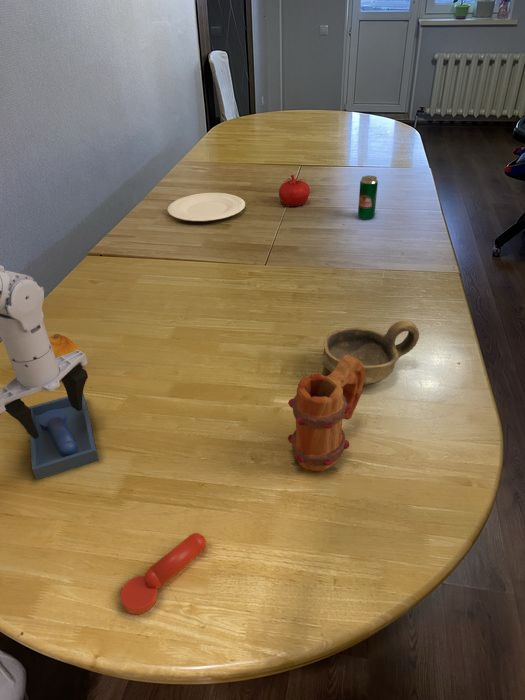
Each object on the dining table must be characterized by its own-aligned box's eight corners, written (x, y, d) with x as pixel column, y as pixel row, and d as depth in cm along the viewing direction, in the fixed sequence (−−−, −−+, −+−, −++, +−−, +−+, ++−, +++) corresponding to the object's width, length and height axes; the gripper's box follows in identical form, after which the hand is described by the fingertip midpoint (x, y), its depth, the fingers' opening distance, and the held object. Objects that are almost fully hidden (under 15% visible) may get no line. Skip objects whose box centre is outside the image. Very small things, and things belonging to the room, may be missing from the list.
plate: (233, 228, 154) (233, 222, 153) (155, 223, 159) (154, 217, 158) (254, 199, 174) (253, 194, 173) (184, 196, 179) (183, 190, 178)
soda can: (354, 218, 157) (357, 178, 150) (362, 213, 160) (365, 174, 153) (369, 221, 154) (373, 181, 147) (377, 216, 158) (381, 176, 151)
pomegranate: (312, 207, 166) (312, 178, 160) (281, 210, 165) (281, 180, 159) (306, 197, 174) (306, 169, 168) (276, 199, 173) (276, 171, 167)
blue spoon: (85, 452, 81) (81, 440, 80) (59, 464, 79) (54, 452, 78) (62, 410, 89) (58, 399, 88) (37, 420, 88) (33, 409, 86)
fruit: (97, 354, 100) (68, 322, 96) (70, 382, 94) (39, 349, 91) (74, 363, 105) (46, 333, 101) (47, 390, 99) (17, 359, 96)
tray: (98, 460, 80) (95, 450, 79) (36, 479, 78) (32, 469, 76) (86, 401, 92) (83, 391, 90) (31, 416, 89) (27, 406, 88)
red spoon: (194, 533, 69) (192, 521, 67) (215, 553, 67) (213, 541, 65) (115, 597, 62) (111, 585, 61) (135, 622, 60) (130, 610, 58)
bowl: (313, 353, 101) (315, 310, 95) (401, 345, 102) (407, 302, 96) (328, 399, 90) (330, 353, 84) (426, 390, 91) (435, 344, 85)
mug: (318, 489, 74) (322, 411, 65) (277, 460, 79) (275, 384, 70) (376, 435, 83) (386, 359, 74) (335, 412, 87) (340, 338, 79)
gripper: (-6, 387, 66) (26, 460, 74) (90, 336, 75) (109, 406, 83) (-31, 367, 70) (2, 439, 78) (62, 321, 79) (84, 389, 87)
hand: (56, 421), depth 81 cm, fingers open, 7 cm apart
